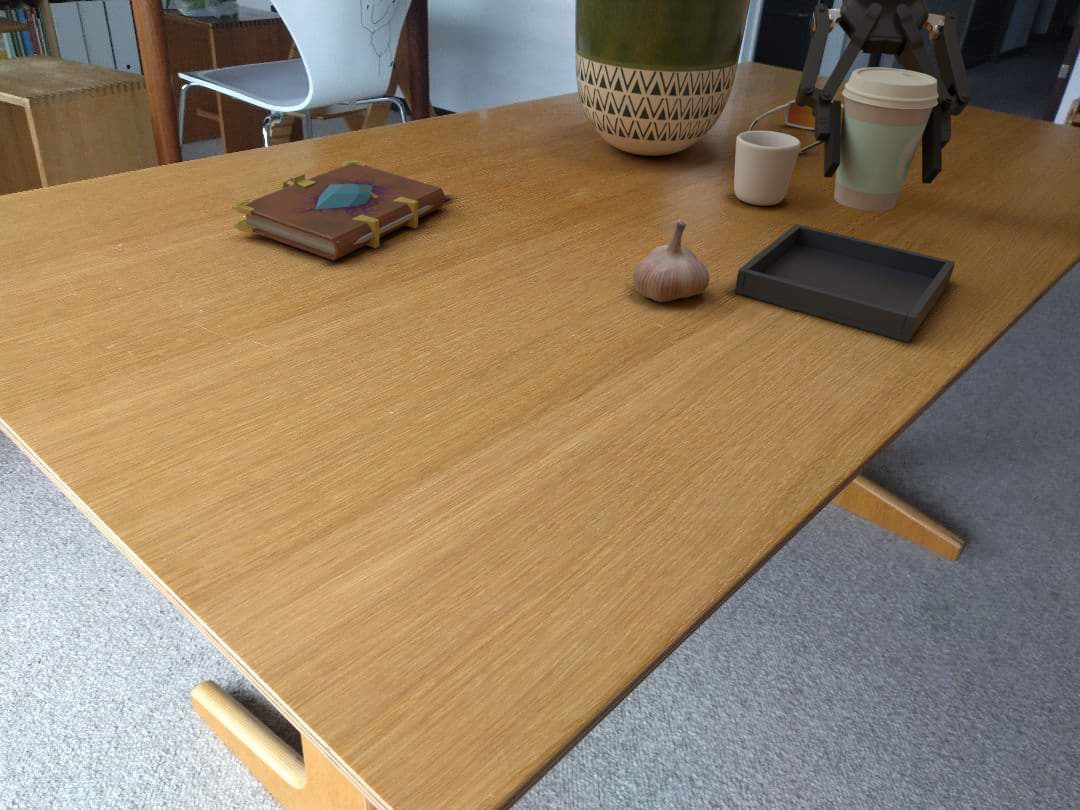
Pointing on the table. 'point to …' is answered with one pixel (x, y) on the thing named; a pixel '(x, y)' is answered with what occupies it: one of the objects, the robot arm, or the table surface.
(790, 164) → the cup
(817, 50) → the robot arm
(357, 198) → the book
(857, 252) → the slate tray
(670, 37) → the planter
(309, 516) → the table surface
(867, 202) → the coffee cup
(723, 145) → the table surface
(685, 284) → the garlic bulb
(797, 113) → the sunglasses
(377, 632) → the table surface
